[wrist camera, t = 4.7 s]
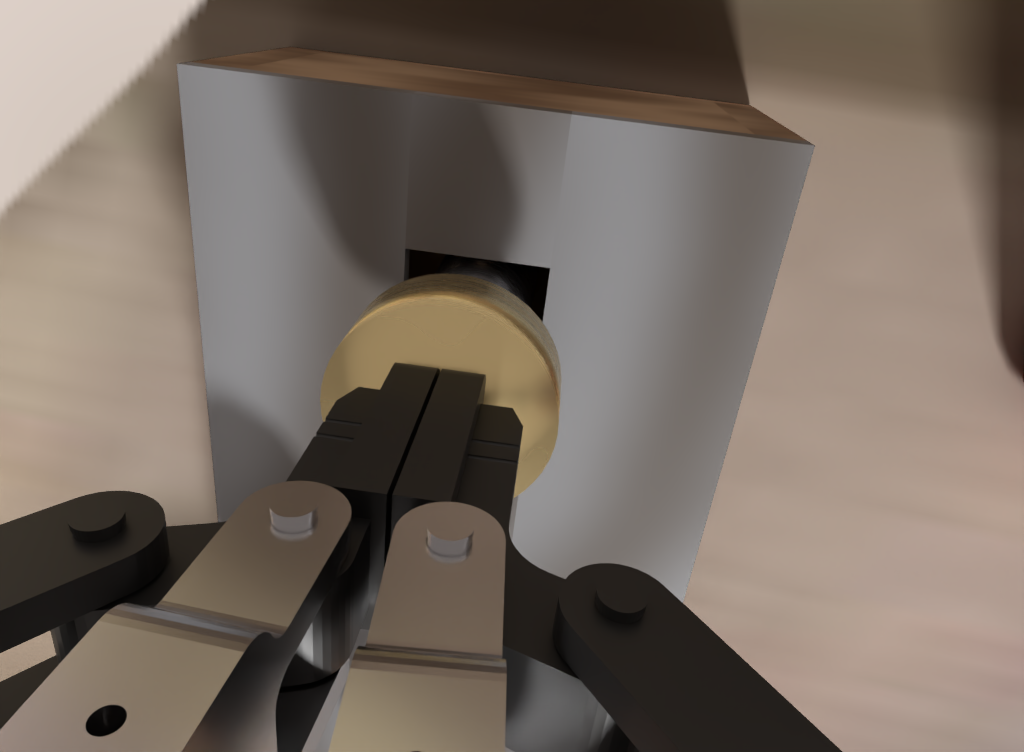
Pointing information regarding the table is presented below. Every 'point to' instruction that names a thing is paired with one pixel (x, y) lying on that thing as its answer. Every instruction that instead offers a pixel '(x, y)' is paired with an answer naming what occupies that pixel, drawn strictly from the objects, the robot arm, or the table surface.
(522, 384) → the knob
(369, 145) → the mount
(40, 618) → the robot arm
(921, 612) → the table surface
